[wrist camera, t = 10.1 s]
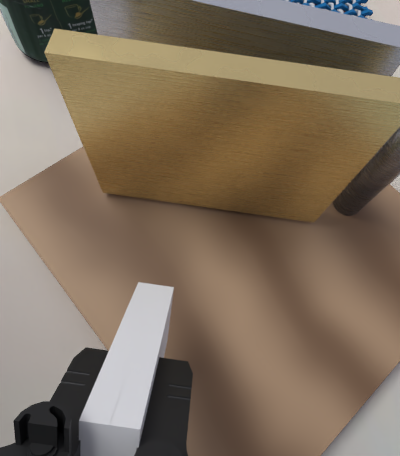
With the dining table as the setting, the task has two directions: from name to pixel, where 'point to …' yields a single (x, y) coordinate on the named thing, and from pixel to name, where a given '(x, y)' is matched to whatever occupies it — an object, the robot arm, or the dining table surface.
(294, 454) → the walnut board
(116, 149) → the panel
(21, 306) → the dining table surface
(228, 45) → the steel leaf and pin
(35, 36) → the coffee jar
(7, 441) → the dining table surface
